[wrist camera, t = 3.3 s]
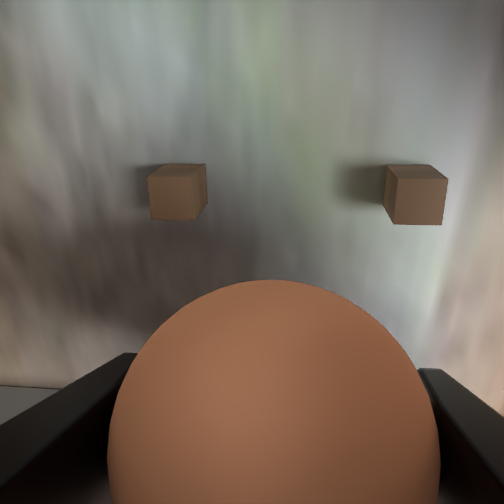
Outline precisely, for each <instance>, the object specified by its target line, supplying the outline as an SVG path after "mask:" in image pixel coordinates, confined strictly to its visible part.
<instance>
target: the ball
mask: <svg viewBox="0 0 504 504" xmlns="http://www.w3.org/2000/svg"><path fill="white" fill-rule="evenodd" d="M107 465H108V477H109V488H110V494H111V498H112V502H113V504H437V500H438V491H439V482H440V470H441V460H440V447H439V436H438V428H437V425H436V421H435V417H434V413H433V410H432V406H431V402H430V399H429V395H428V393H427V391H426V389H425V387H424V385H423V382H422V380H421V378H420V376H419V374H418V372H417V370H416V368H415V366H414V364H413V363H412V361H411V360H410V358H409V357H408V355H407V354H406V352H405V351H404V349H403V348H402V347H401V346H400V344H399V343H398V342H397V341H396V339H395V338H394V337H393V336H392V335H391V334H390V333H389V332H388V331H387V329H386V328H385V327H384V326H383V325H381V324H380V323H379V322H378V321H377V320H376V319H374V318H373V317H372V316H371V315H370V314H368V313H367V312H366V311H364V310H363V309H361V308H360V307H358V306H357V305H355V304H354V303H352V302H351V301H349V300H347V299H345V298H343V297H341V296H339V295H337V294H335V293H333V292H331V291H328V290H325V289H322V288H319V287H316V286H313V285H309V284H304V283H299V282H295V281H284V280H255V281H248V282H242V283H237V284H233V285H230V286H226V287H222V288H220V289H217V290H215V291H213V292H210V293H208V294H206V295H204V296H201V297H199V298H197V299H196V300H194V301H192V302H191V303H189V304H187V305H186V306H184V307H182V308H181V309H180V310H179V311H177V312H176V313H175V314H174V315H173V316H171V317H170V318H169V319H168V320H167V321H165V322H164V323H163V324H162V325H161V326H160V327H159V328H158V329H157V330H156V331H155V332H154V333H153V335H152V336H151V337H150V338H149V339H148V340H147V342H146V343H145V344H144V346H143V347H142V348H141V350H140V351H139V353H138V354H137V356H136V357H135V359H134V360H133V362H132V364H131V366H130V368H129V370H128V372H127V374H126V376H125V378H124V380H123V383H122V385H121V387H120V389H119V392H118V395H117V399H116V402H115V406H114V410H113V414H112V418H111V421H110V427H109V438H108V450H107Z"/></svg>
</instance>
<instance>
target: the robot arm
mask: <svg viewBox="0 0 504 504" xmlns="http://www.w3.org/2000/svg"><path fill="white" fill-rule="evenodd" d="M137 354H138V353H123V354H121V355H119V356H118V357H116V358H114V359H113V360H111V361H109V362H107V363H106V364H104V365H102V366H100V367H99V368H97V369H95V370H94V371H92V372H90V373H88V374H87V375H85V376H83V377H82V378H80V379H78V380H76V381H75V382H73V383H71V384H69V385H68V386H66V387H64V388H63V389H61V390H59V391H57V392H56V393H54V394H52V395H50V396H49V397H47V398H45V399H44V400H42V401H40V402H38V403H37V404H35V405H33V406H31V407H30V408H28V409H26V410H25V411H23V412H21V413H19V414H18V415H16V416H14V417H13V418H11V419H9V420H7V421H6V422H4V423H2V424H0V504H113V502H112V498H111V494H110V488H109V477H108V465H107V450H108V438H109V427H110V421H111V418H112V414H113V410H114V406H115V402H116V399H117V395H118V392H119V389H120V387H121V385H122V383H123V380H124V378H125V376H126V374H127V372H128V370H129V368H130V366H131V364H132V362H133V360H134V359H135V357H136V356H137ZM417 372H418V374H419V376H420V378H421V380H422V382H423V385H424V387H425V389H426V391H427V393H428V395H429V399H430V402H431V406H432V410H433V413H434V417H435V421H436V425H437V428H438V436H439V447H440V460H441V470H440V482H439V491H438V500H437V504H504V417H503V416H502V415H500V414H499V413H498V412H496V411H495V410H494V409H493V408H491V407H490V406H489V405H487V404H486V403H485V402H483V401H482V400H481V399H480V398H478V397H477V396H476V395H474V394H473V393H472V392H470V391H469V390H468V389H467V388H465V387H464V386H463V385H461V384H460V383H459V382H457V381H456V380H455V379H453V378H452V377H451V376H450V375H448V374H447V373H446V372H444V371H443V370H441V369H434V368H419V369H418V370H417Z"/></svg>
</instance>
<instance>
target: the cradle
mask: <svg viewBox="0 0 504 504" xmlns="http://www.w3.org/2000/svg"><path fill="white" fill-rule="evenodd" d="M147 184H148V194H149V204H150V214H151V220H188V221H194V220H195V218H196V217H197V216H198V215H199V213H200V212H201V211H202V209H203V208H204V207H205V205H206V204H207V187H206V168H205V164H165V165H164V166H162V167H161V168H159V169H158V170H156V171H154V172H153V173H151V174H150V175H148V176H147ZM447 184H448V178H446V177H445V176H444V175H443V174H441V173H440V172H439V171H437V170H436V169H435V168H434V167H432V166H431V165H387V169H386V180H385V191H384V202H383V206H384V208H385V210H386V212H387V213H388V215H389V217H390V219H391V221H392V222H393V224H401V225H442V220H443V213H444V206H445V199H446V192H447Z"/></svg>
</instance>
